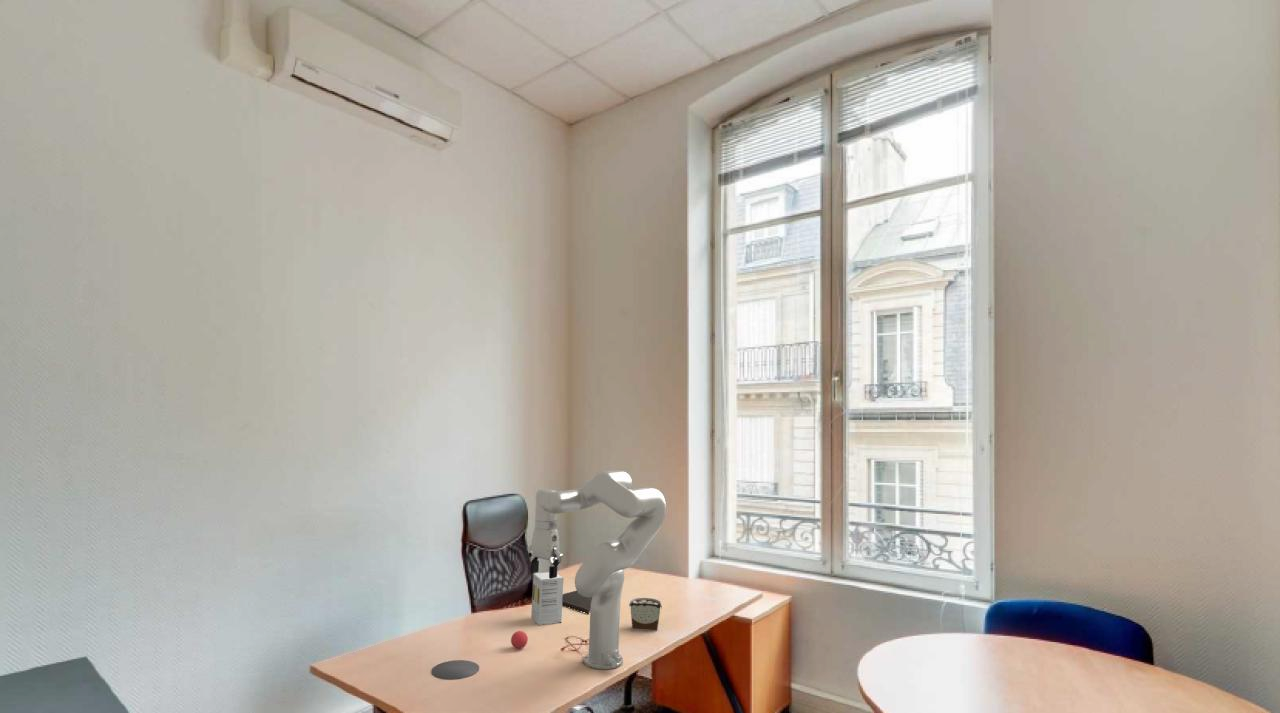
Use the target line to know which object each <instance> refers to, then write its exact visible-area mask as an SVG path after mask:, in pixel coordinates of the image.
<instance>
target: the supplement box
mask: <svg viewBox="0 0 1280 713" xmlns="http://www.w3.org/2000/svg"><path fill="white" fill-rule="evenodd" d="M532 577H533V579H532V597H531V598H532V599H531V613H530V614H531V615H530V618H531V619H532V620H533V621H534V623H535V624H537V626H543V625H542V624H547V625H552V624H551V623H555V624H559V623H558V622H561V623H562V616H563V606H562V597H563V594H564V593H563V592H564V577H563V576H561V575H560V574H559V573H557V577H555V578H551V579H550V578H549V571H547V572H537V573H533V576H532Z"/></svg>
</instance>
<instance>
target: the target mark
mask: <svg viewBox="0 0 1280 713" xmlns="http://www.w3.org/2000/svg"><path fill="white" fill-rule="evenodd" d="M479 671H480V666H479V664H478V663H476V662H474V661H471V660H463V659H459V660H458V659H455V660H448V661H444V662H441V663H437V665H435V666H434V667H432V669H431V674H432V675H433V676H434V677H435V678H437V679H442V680H460V679H466V678H469V677H471V676H474V675H476V674H477V673H478V672H479Z"/></svg>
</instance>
